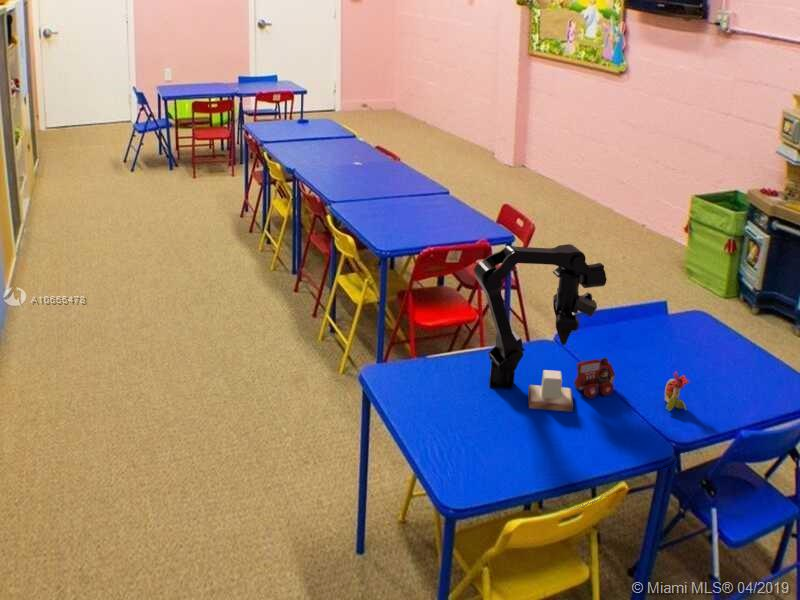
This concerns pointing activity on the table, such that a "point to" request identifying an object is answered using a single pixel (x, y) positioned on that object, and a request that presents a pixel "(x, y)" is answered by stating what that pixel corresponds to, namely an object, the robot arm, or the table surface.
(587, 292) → the robot arm
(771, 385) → the table surface
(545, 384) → the white block
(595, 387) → the toy fire truck
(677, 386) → the bird rattle
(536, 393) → the plinth
